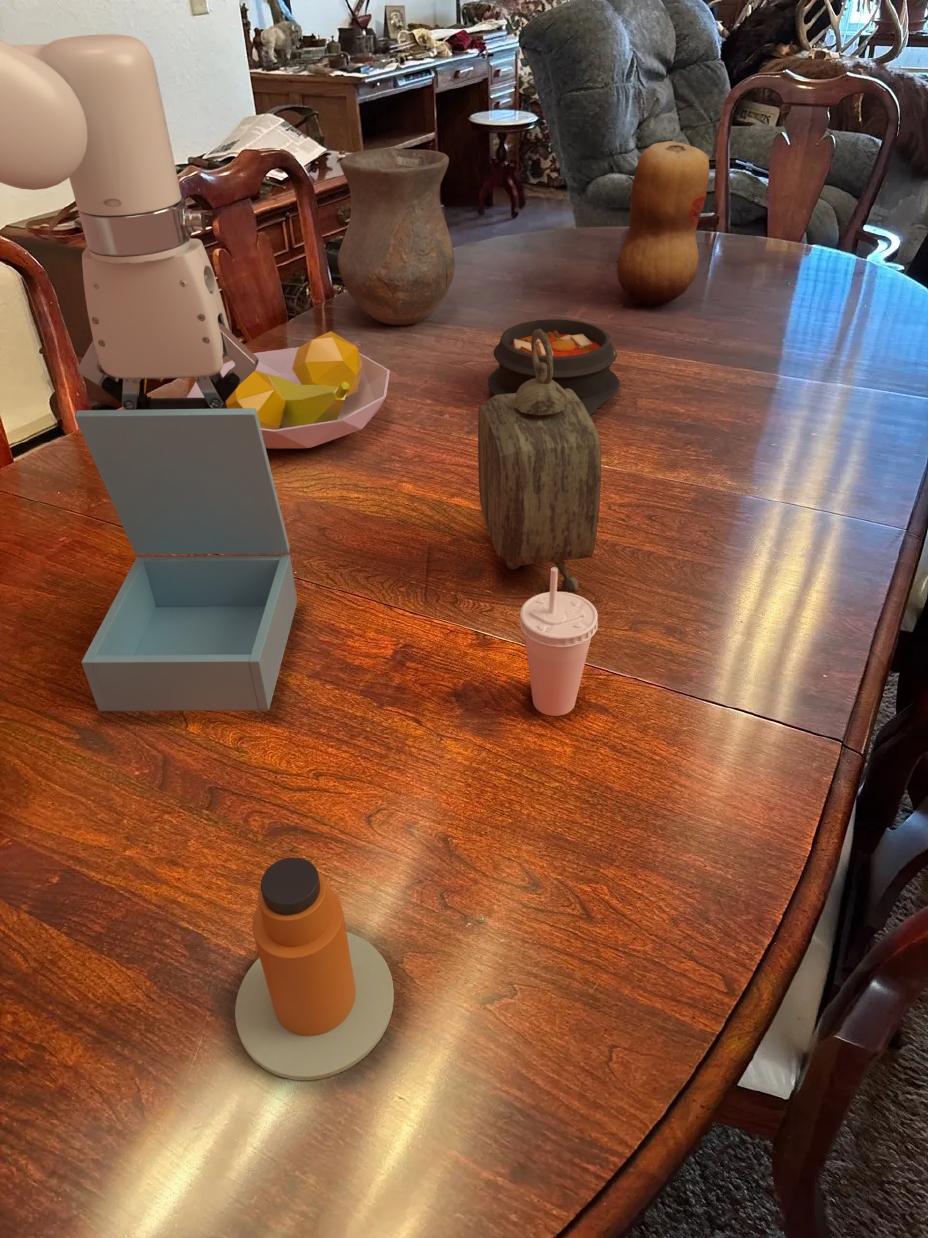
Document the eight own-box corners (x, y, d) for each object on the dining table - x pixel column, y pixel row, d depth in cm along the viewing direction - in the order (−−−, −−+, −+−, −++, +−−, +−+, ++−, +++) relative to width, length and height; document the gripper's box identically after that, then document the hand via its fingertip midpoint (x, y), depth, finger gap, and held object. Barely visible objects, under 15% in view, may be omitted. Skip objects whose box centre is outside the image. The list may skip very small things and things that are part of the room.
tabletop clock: (591, 601, 92) (611, 360, 77) (503, 611, 91) (505, 369, 76) (556, 525, 103) (567, 302, 88) (477, 534, 102) (474, 310, 87)
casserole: (616, 438, 120) (622, 376, 115) (475, 430, 123) (475, 370, 117) (620, 363, 140) (625, 308, 135) (499, 358, 142) (499, 303, 137)
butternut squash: (674, 321, 153) (694, 156, 138) (601, 307, 159) (613, 148, 144) (705, 297, 162) (727, 140, 147) (635, 285, 168) (649, 132, 153)
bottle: (266, 1036, 56) (232, 920, 49) (281, 959, 61) (252, 842, 53) (351, 1036, 56) (330, 921, 49) (359, 960, 60) (341, 842, 53)
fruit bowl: (186, 402, 131) (169, 324, 124) (371, 375, 138) (364, 299, 131) (205, 495, 110) (186, 407, 103) (422, 458, 117) (418, 373, 110)
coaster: (220, 1080, 55) (218, 1076, 55) (253, 932, 63) (251, 928, 62) (387, 1081, 55) (387, 1077, 54) (399, 932, 63) (398, 928, 62)
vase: (343, 302, 164) (328, 147, 148) (450, 296, 165) (446, 142, 150) (344, 343, 148) (327, 174, 133) (462, 336, 150) (458, 168, 134)
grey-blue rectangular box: (270, 717, 80) (259, 661, 76) (100, 718, 80) (80, 662, 76) (298, 607, 92) (290, 554, 88) (152, 608, 92) (136, 555, 88)
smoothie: (516, 676, 83) (519, 546, 75) (588, 677, 83) (599, 547, 74) (517, 726, 78) (521, 593, 70) (593, 727, 78) (606, 593, 69)
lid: (254, 414, 75) (262, 379, 78) (73, 416, 75) (88, 381, 78) (289, 553, 88) (294, 519, 91) (134, 554, 88) (145, 520, 91)
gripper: (257, 212, 72) (291, 424, 84) (42, 218, 73) (104, 429, 84) (239, 240, 66) (277, 464, 78) (5, 247, 67) (76, 469, 78)
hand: (187, 444), depth 81 cm, fingers closed on lid, 5 cm apart
